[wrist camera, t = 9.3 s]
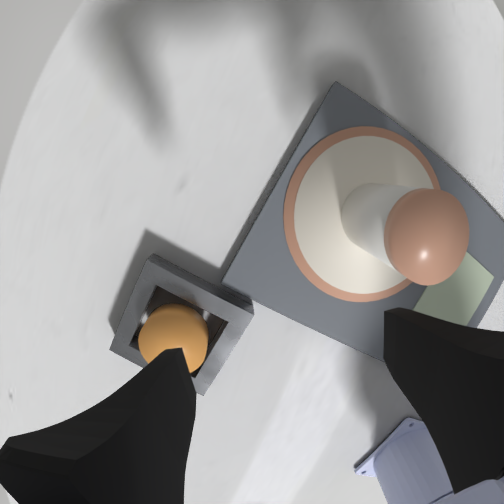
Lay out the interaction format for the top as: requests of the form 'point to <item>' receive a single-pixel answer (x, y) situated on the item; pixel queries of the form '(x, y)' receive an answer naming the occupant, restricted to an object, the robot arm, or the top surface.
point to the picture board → (338, 244)
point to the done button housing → (194, 292)
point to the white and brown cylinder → (408, 229)
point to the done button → (175, 334)
